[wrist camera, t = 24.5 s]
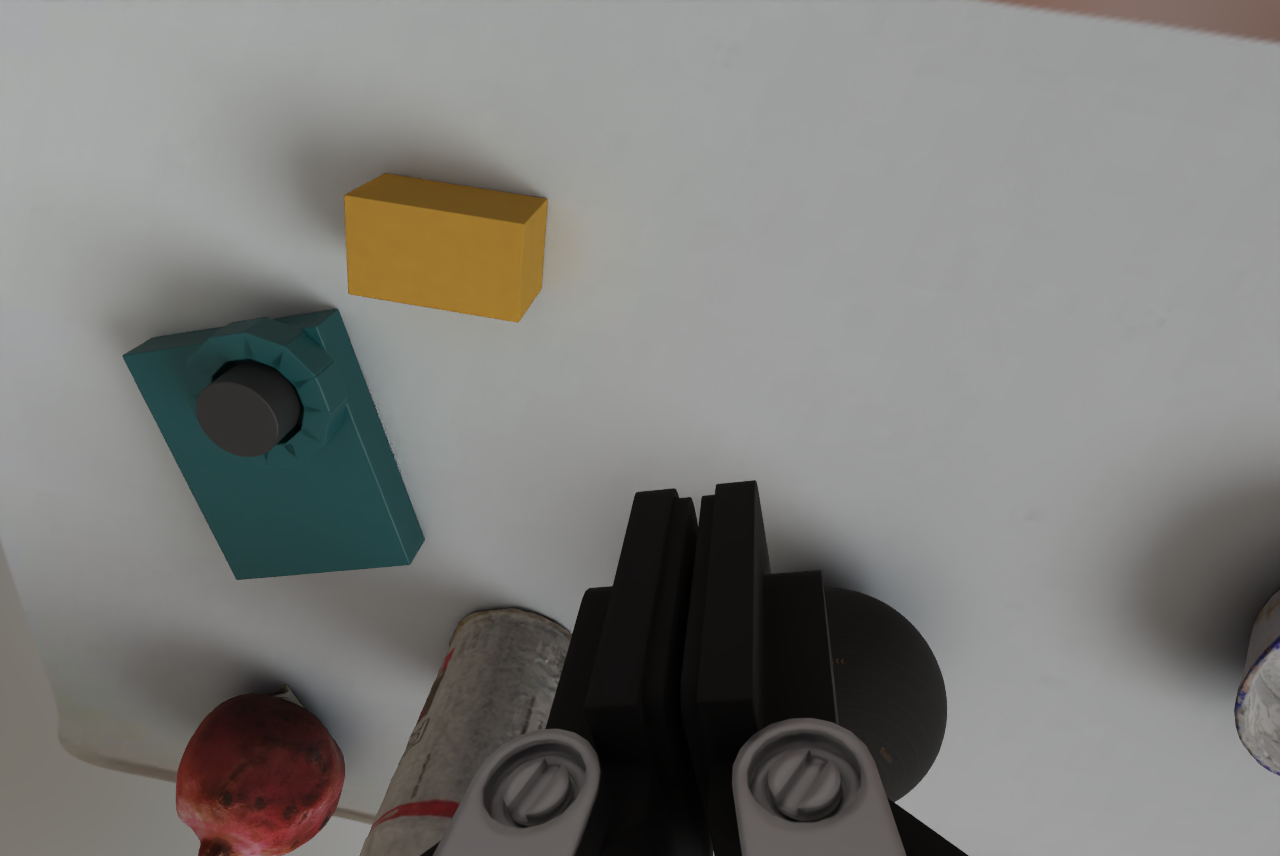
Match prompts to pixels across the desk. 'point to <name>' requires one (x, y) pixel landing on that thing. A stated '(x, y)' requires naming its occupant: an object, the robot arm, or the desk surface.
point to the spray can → (469, 722)
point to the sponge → (445, 246)
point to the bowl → (1262, 690)
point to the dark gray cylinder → (248, 409)
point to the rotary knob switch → (285, 450)
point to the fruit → (259, 777)
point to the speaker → (886, 687)
